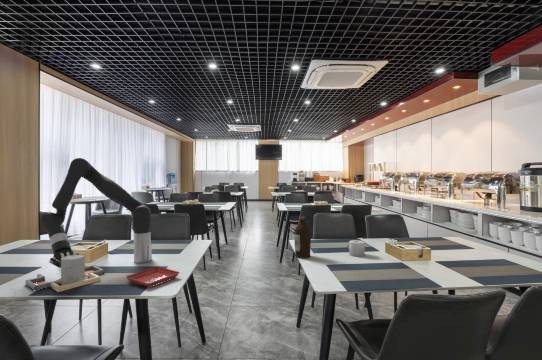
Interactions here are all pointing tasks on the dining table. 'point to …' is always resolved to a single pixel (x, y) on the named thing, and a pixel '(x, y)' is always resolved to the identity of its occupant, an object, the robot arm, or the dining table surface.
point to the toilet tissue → (356, 248)
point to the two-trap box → (89, 271)
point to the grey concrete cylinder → (72, 269)
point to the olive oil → (302, 239)
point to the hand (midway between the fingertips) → (69, 272)
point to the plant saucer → (152, 276)
